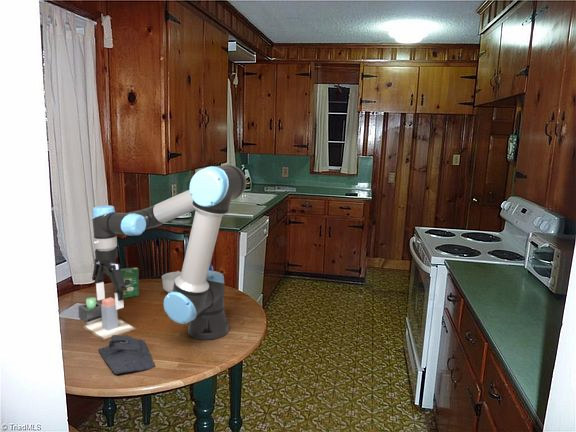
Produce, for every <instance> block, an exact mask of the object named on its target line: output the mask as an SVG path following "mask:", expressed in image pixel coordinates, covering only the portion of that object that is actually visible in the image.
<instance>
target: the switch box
mask: <svg viewBox="0 0 576 432" xmlns="http://www.w3.org/2000/svg"><path fill="white" fill-rule="evenodd" d="M101 305H102V303H100V302H99V301H96V306H97V307H94V308H91V309H88V308H87V307H86V303H85V304H80V305H78V317H79V319H80V320H81V321H83V322H85V323H86V322H89V321H92V320H95V319H99V318H102V311H101Z"/></svg>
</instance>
